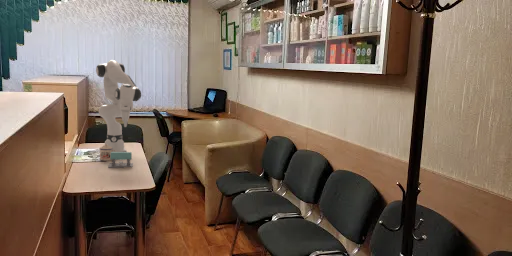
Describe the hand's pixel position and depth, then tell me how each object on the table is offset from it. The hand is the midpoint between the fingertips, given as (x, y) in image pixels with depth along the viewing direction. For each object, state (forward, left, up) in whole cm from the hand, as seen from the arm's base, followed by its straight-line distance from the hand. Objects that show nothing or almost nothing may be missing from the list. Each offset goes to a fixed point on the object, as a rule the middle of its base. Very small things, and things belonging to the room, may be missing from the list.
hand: (125, 125), depth 300 cm
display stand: (+10, -2, -28) cm, 30 cm away
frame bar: (+10, -2, -23) cm, 25 cm away
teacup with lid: (-11, -13, -28) cm, 33 cm away
